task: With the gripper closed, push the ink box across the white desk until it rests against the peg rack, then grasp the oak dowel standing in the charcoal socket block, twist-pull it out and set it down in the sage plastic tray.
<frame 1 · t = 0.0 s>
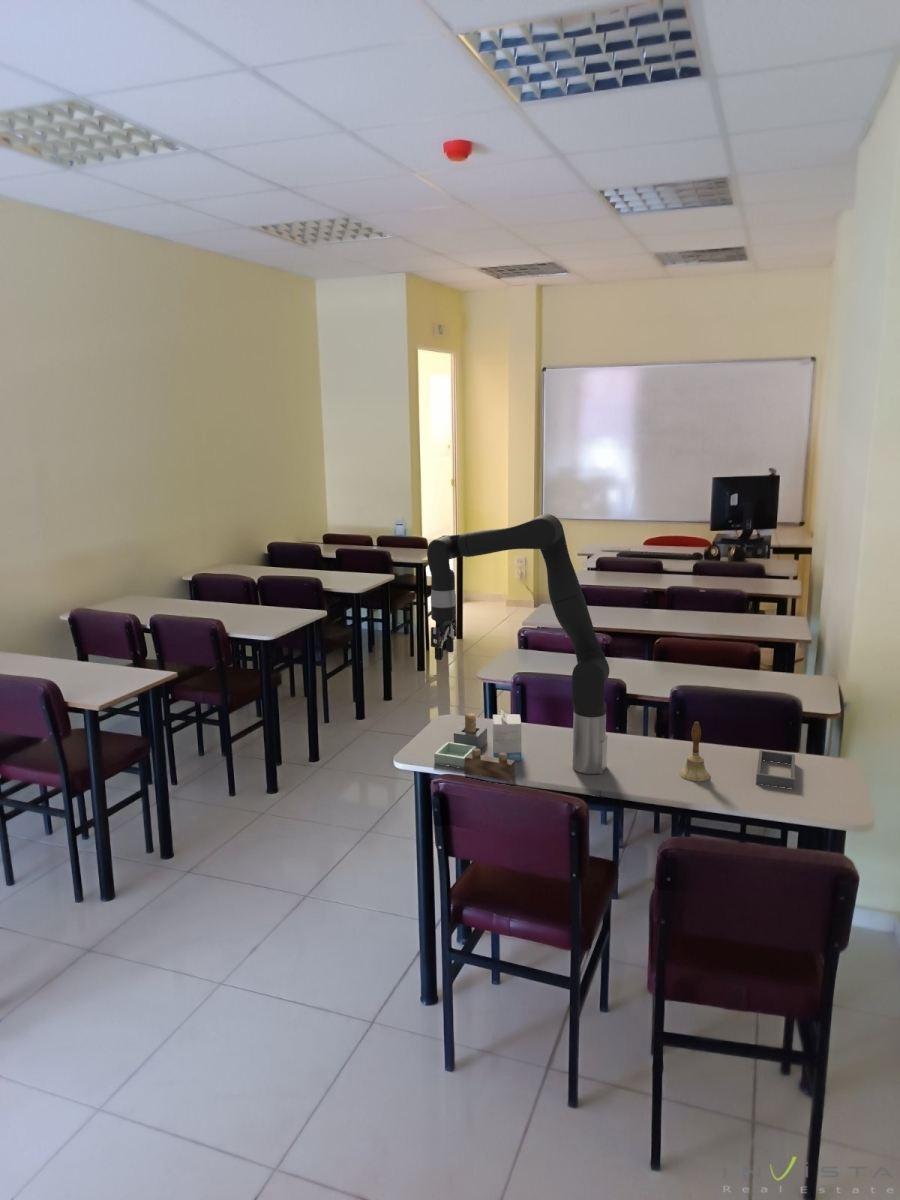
hand: (444, 655, 242), 29 cm above the table, fingers open, 8 cm apart
socket block: (470, 745, 249), on the table
peg rack: (489, 775, 227), on the table
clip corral: (775, 774, 225), on the table
tray: (455, 760, 238), on the table
ink box: (506, 755, 241), on the table
dowel: (470, 730, 247), in the socket block
hand bell: (694, 776, 225), on the table
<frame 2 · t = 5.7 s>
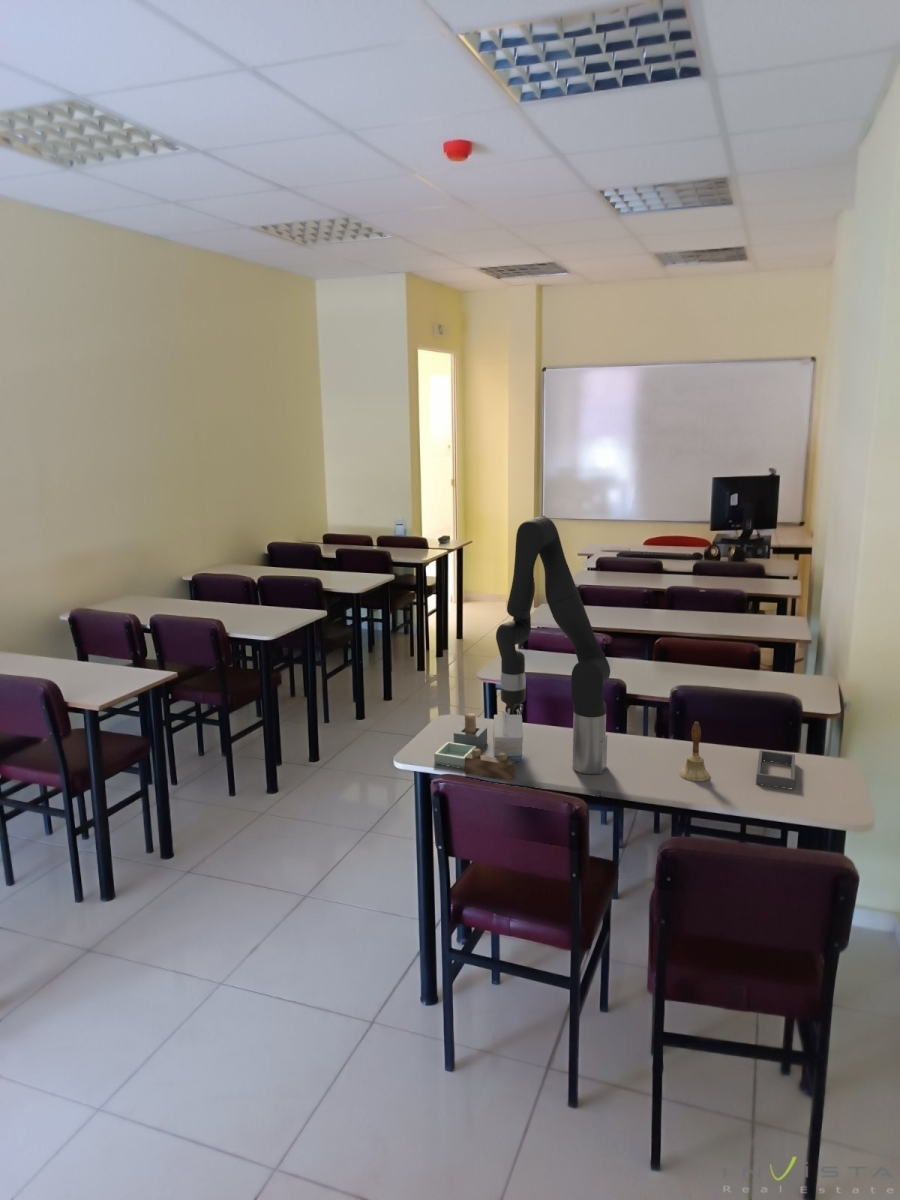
hand: (513, 739, 244), 3 cm above the table, fingers closed
ink box: (506, 749, 240), point 2 cm above the table, touching gripper, hand
everything else where it was.
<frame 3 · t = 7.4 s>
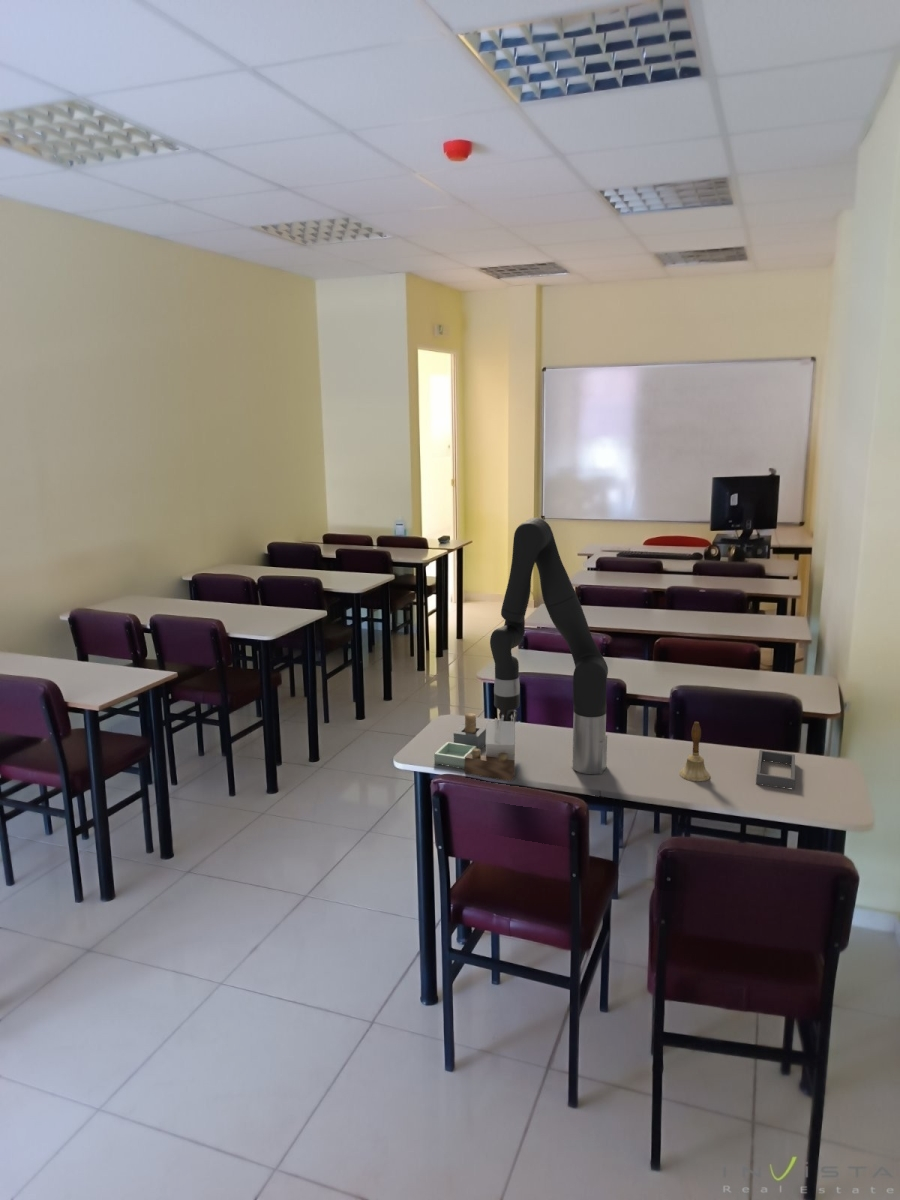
hand: (507, 745, 240), 3 cm above the table, fingers closed
ink box: (500, 756, 235), point 2 cm above the table, touching gripper, hand
everything else where it was.
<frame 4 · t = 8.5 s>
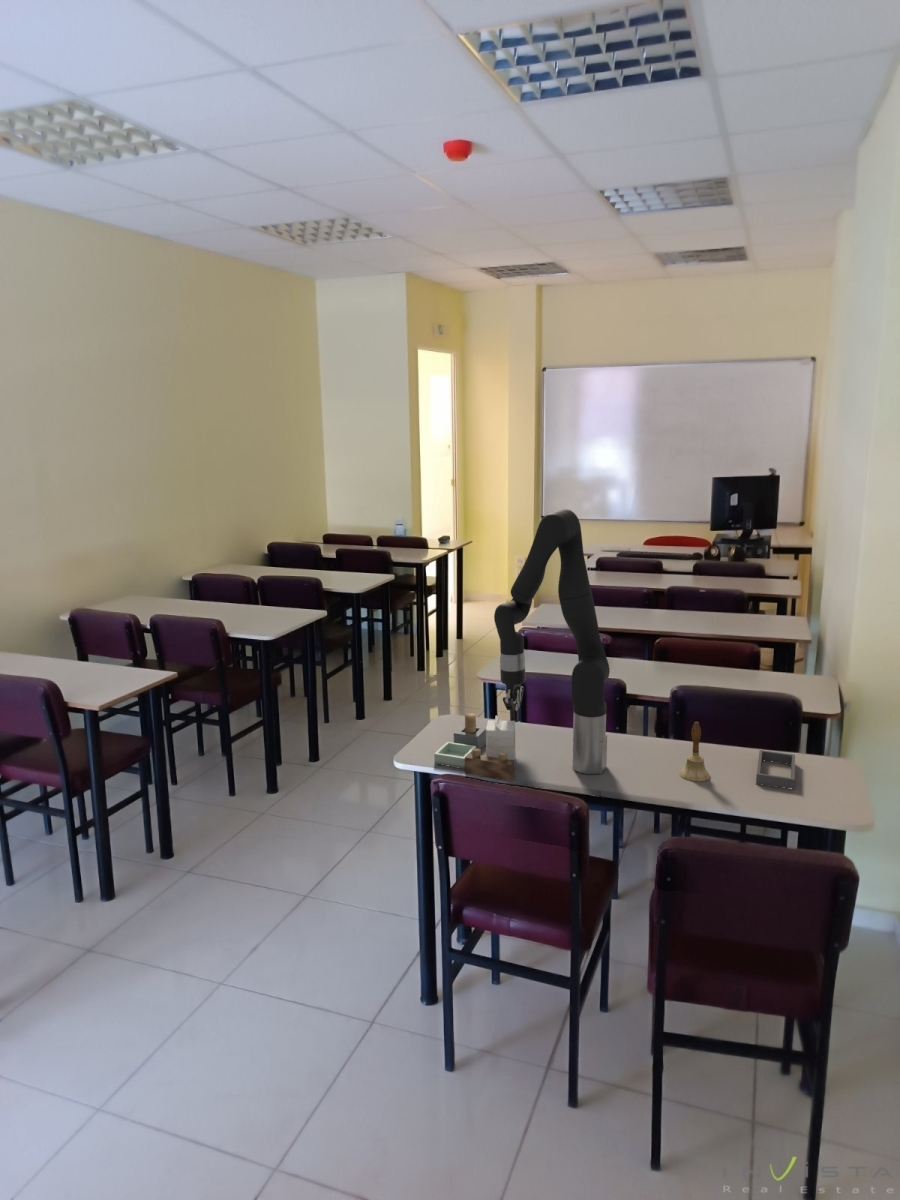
hand: (514, 721, 243), 9 cm above the table, fingers closed
ink box: (500, 762, 236), on the table
everything else where it was.
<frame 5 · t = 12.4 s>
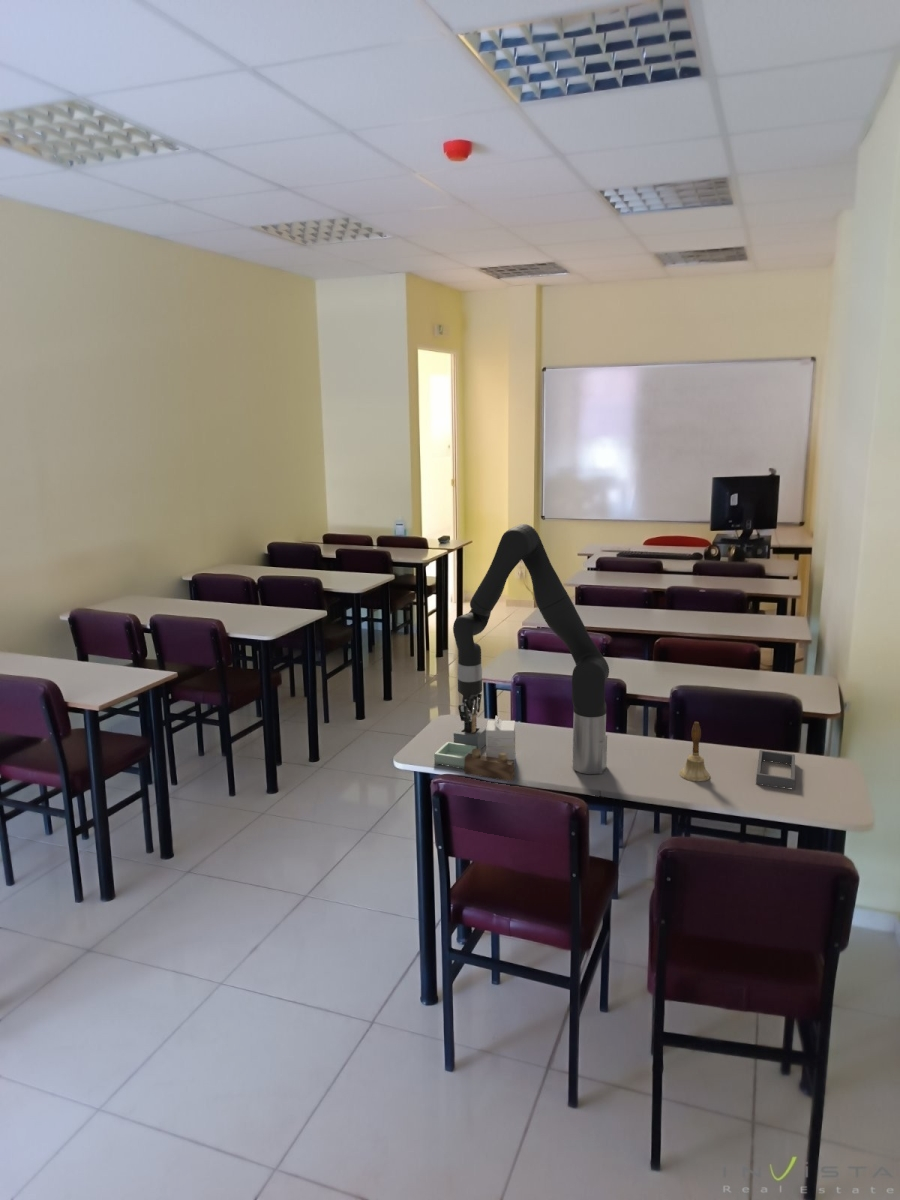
hand: (470, 729, 247), 5 cm above the table, fingers closed on dowel, 3 cm apart
dowel: (470, 730, 247), in the socket block, touching gripper
everything else where it was.
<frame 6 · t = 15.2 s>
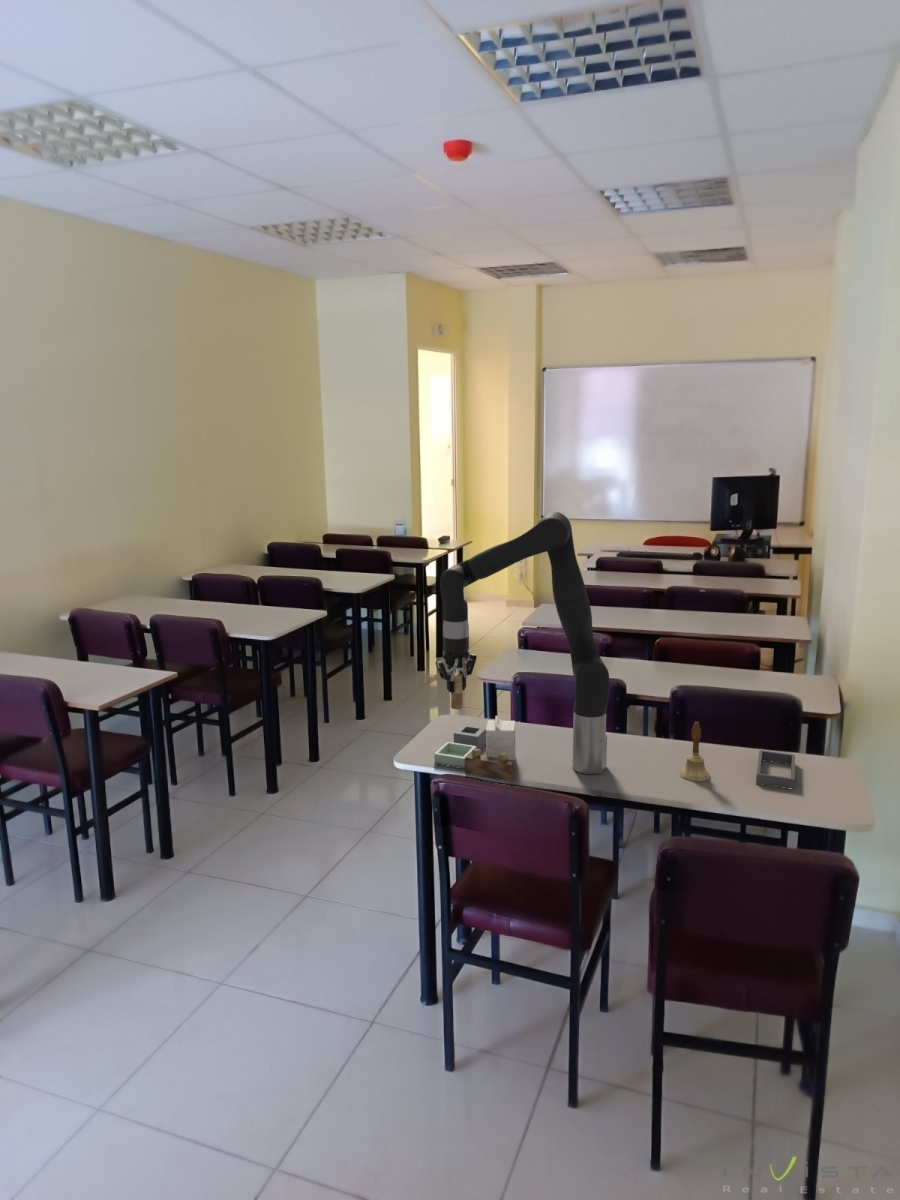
hand: (456, 690, 235), 21 cm above the table, fingers closed on dowel, 3 cm apart
dowel: (456, 691, 235), point 21 cm above the table, touching gripper
everything else where it was.
when the fingers open (8 cm above the table, at t = 17.8 s): dowel drops 2 cm, resting on tray.
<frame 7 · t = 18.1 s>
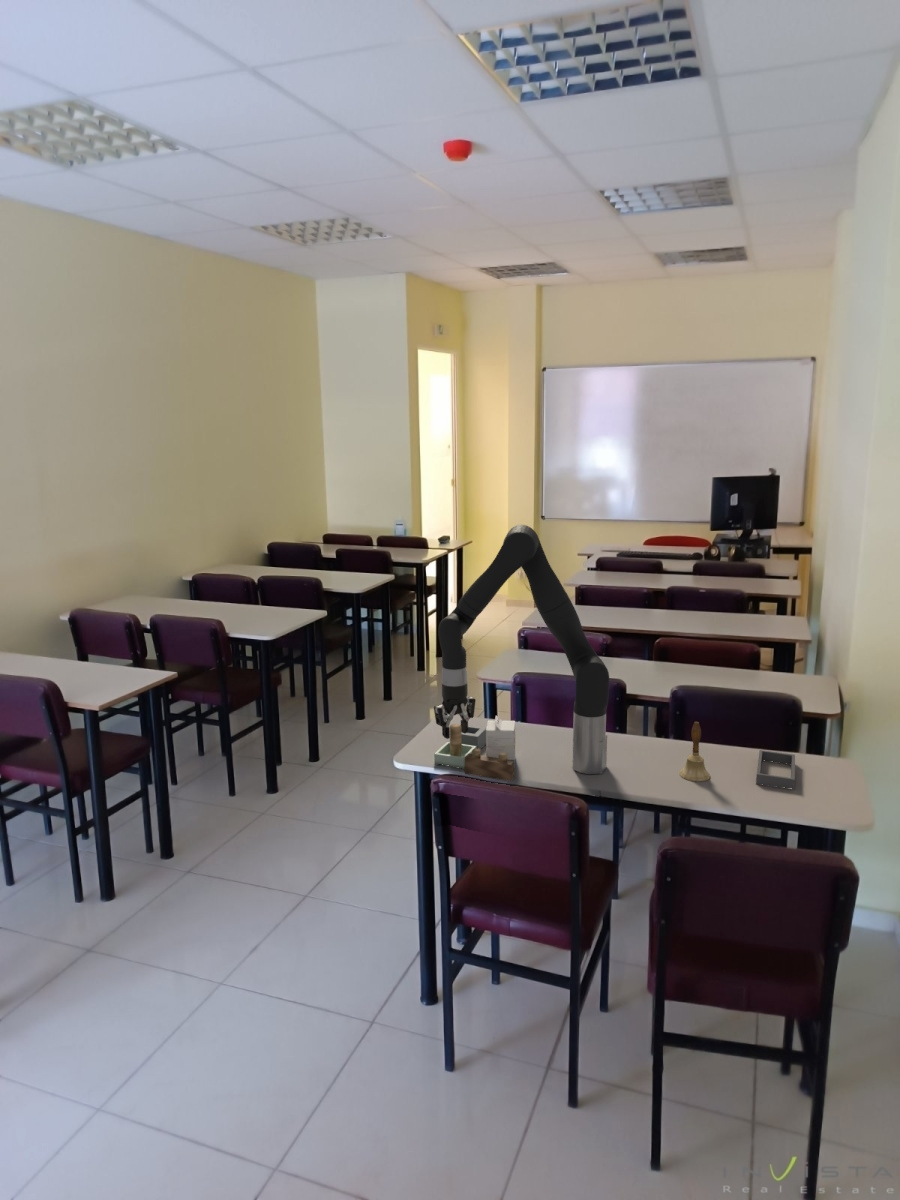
hand: (455, 734, 236), 8 cm above the table, fingers open, 6 cm apart
dowel: (455, 741, 237), in the tray, point 6 cm above the table
everything else where it was.
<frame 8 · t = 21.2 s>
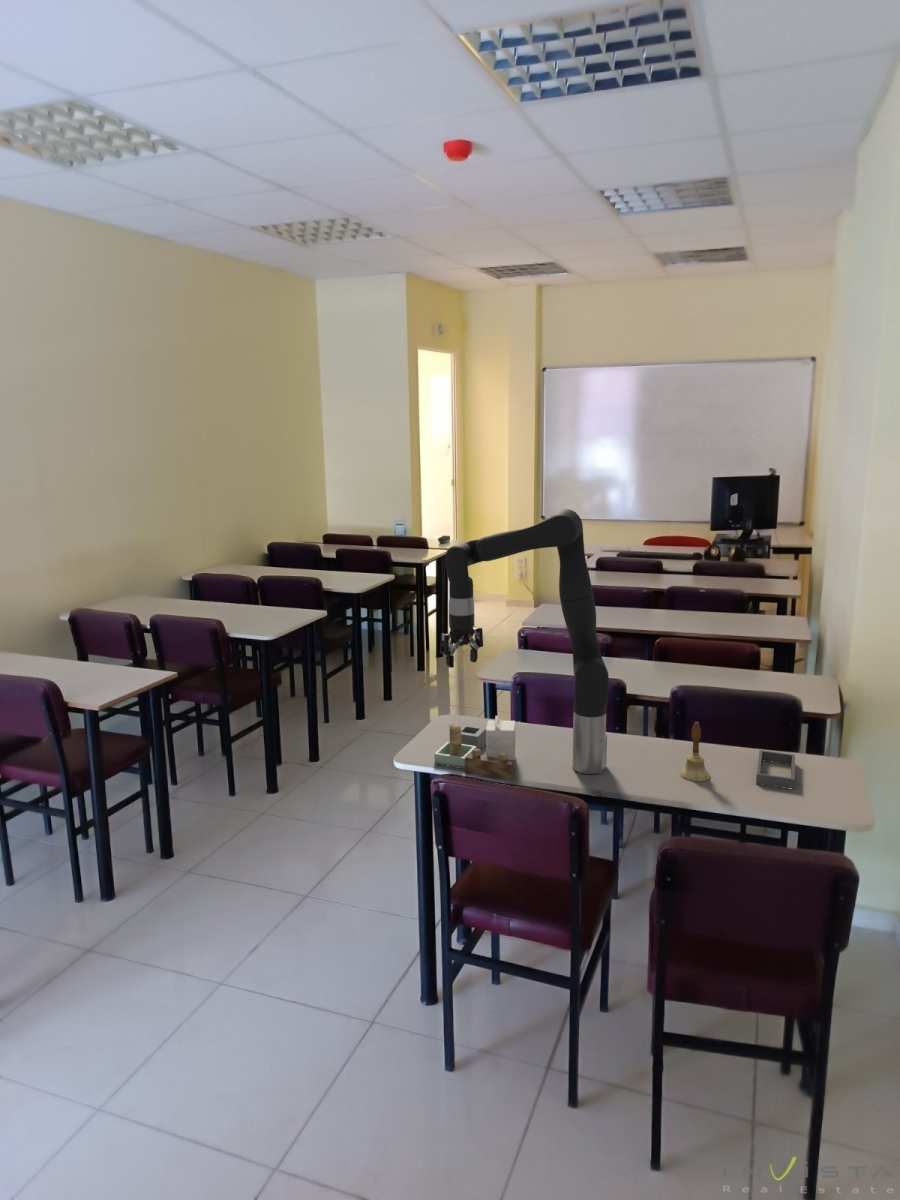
hand: (462, 664, 237), 28 cm above the table, fingers open, 8 cm apart
nothing on the table moved.
at the end: dowel inside the target area on the tray (0.1 cm from its centre), point 5.8 cm above the tray's base; the gripper is holding nothing; ink box inside the target area (3.5 cm from its centre), on the table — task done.
